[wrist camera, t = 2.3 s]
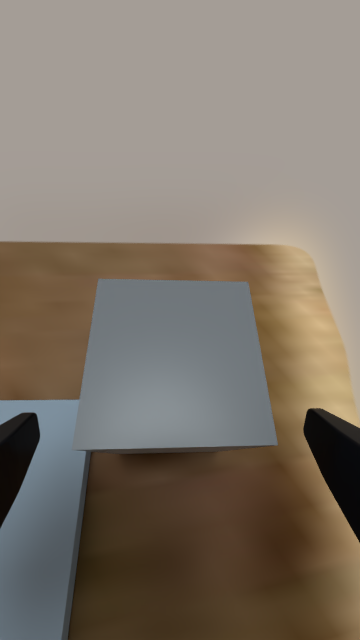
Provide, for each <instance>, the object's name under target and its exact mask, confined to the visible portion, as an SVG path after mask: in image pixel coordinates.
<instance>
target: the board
mask: <svg viewBox="0 0 360 640" xmlns="http://www.w3.org/2000/svg"><path fill="white" fill-rule="evenodd" d="M78 406H79V400H11V401H0V425H1V424H3V423H4V422H6V421H8V420H10V419H12V418H13V417H15V416H17V415H19V414H20V413H24V412H34V413H36V414H37V417H38V422H39V429H40V440H39V443H38V446H37V448H36V451H35V453H34V456H33V458H32V461H31V463H30V466H29V468H28V471H27V474H26V476H25V479H24V481H23V484H22V486H21V488H20V491H19V493H18V495H17V497H16V499H15V501H14V503H13V505H12V507H11V509H10V511H9V513H8V515H7V517H6V518H5V520H4V522H3V524H2V526H1V528H0V640H68V632H69V624H70V616H71V608H72V600H73V592H74V584H75V576H76V568H77V560H78V552H79V544H80V536H81V528H82V520H83V512H84V504H85V496H86V488H87V480H88V472H89V464H90V456H91V452H89V451H77V450H72V445H73V438H74V432H75V426H76V419H77V413H78Z"/></svg>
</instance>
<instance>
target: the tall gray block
mask: <svg viewBox="0 0 360 640" xmlns="http://www.w3.org/2000/svg"><path fill="white" fill-rule="evenodd" d="M274 445H278V443H277V438H276V432H275V427H274V421H273V416H272V410H271V405H270V399H269V394H268V388H267V383H266V377H265V372H264V366H263V361H262V355H261V350H260V344H259V339H258V334H257V328H256V323H255V317H254V312H253V306H252V301H251V295H250V290H249V284H248V282H225V281H177V280H128V279H98V285H97V291H96V298H95V304H94V311H93V317H92V323H91V330H90V336H89V342H88V349H87V355H86V362H85V368H84V374H83V381H82V387H81V394H80V400H79V406H78V413H77V419H76V426H75V432H74V438H73V445H72V450H77V451H89V452H100V453H112V454H142V453H182V452H218V451H228V450H237V449H246V448H256V447H265V446H274Z"/></svg>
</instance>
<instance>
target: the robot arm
mask: <svg viewBox="0 0 360 640" xmlns="http://www.w3.org/2000/svg"><path fill="white" fill-rule="evenodd" d="M304 435H305V438H306V440H307V442H308V445H309V447H310V449H311V451H312V453H313V456H314V458H315V460H316V462H317V465H318V467H319V469H320V471H321V473H322V475H323V477H324V480H325V481H326V483H327V485H328V487H329V489H330V491H331V492H332V494H333V496H334V498H335V500H336V501H337V503H338V505H339V507H340V508H341V510H342V512H343V514H344V516H345V517H346V519H347V521H348V523H349V524H350V526H351V528H352V530H353V531H354V533H355V535H356V537H357V539H358V540H359V542H360V428H358V427H356V426H354V425H352V424H351V423H349V422H347V421H345V420H343V419H341V418H339V417H337V416H335V415H333V414H331V413H329V412H327V411H325V410H323V409H320V408H311V409H308V411H307V414H306V419H305V423H304ZM39 440H40V429H39V422H38V417H37V414H36V413H34V412H24V413H20V414H19V415H17V416H15V417H13V418H12V419H10V420H8V421H6V422H4V423H3V424H1V425H0V528H1V526H2V524H3V522H4V520H5V518H6V517H7V515H8V513H9V511H10V509H11V507H12V505H13V503H14V501H15V499H16V497H17V495H18V493H19V491H20V488H21V486H22V484H23V481H24V479H25V476H26V474H27V471H28V468H29V466H30V463H31V461H32V458H33V456H34V453H35V451H36V448H37V446H38V443H39Z"/></svg>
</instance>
